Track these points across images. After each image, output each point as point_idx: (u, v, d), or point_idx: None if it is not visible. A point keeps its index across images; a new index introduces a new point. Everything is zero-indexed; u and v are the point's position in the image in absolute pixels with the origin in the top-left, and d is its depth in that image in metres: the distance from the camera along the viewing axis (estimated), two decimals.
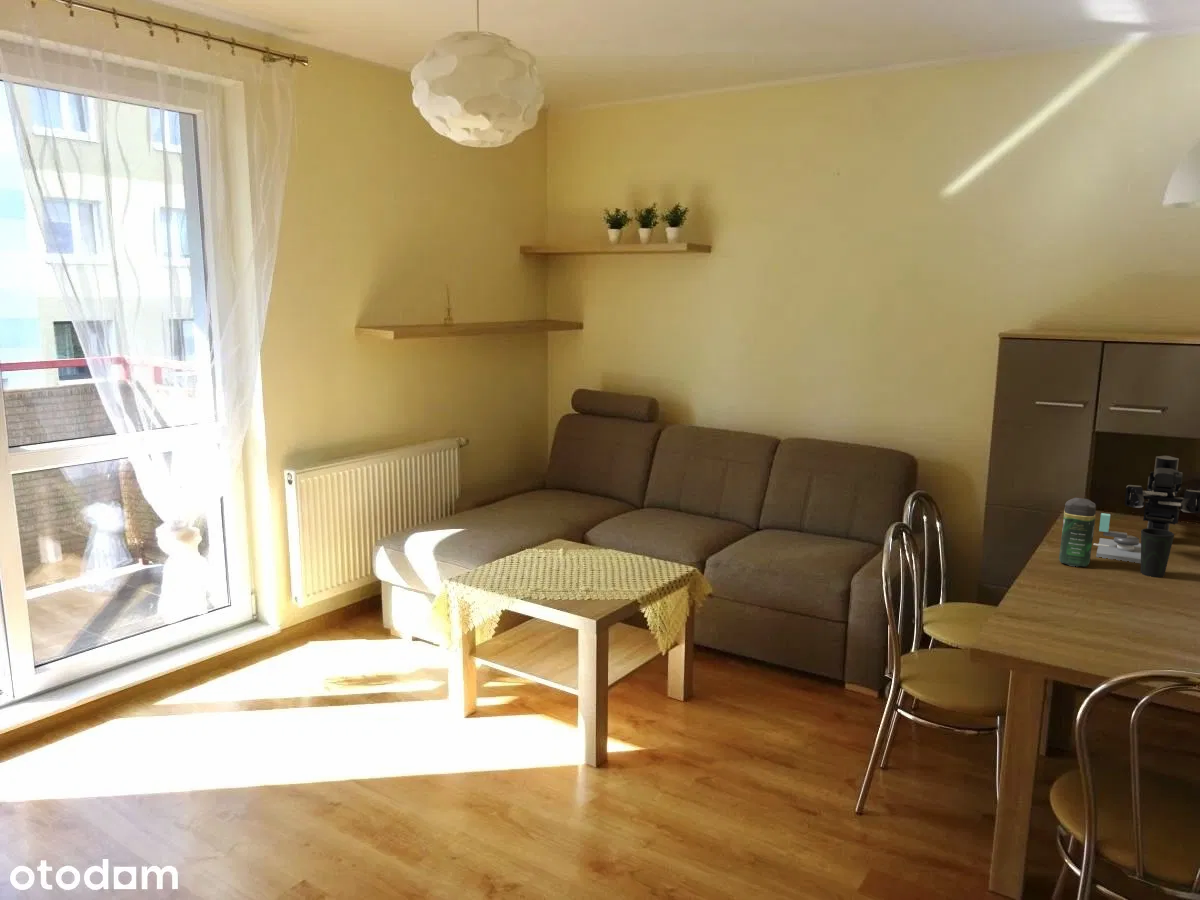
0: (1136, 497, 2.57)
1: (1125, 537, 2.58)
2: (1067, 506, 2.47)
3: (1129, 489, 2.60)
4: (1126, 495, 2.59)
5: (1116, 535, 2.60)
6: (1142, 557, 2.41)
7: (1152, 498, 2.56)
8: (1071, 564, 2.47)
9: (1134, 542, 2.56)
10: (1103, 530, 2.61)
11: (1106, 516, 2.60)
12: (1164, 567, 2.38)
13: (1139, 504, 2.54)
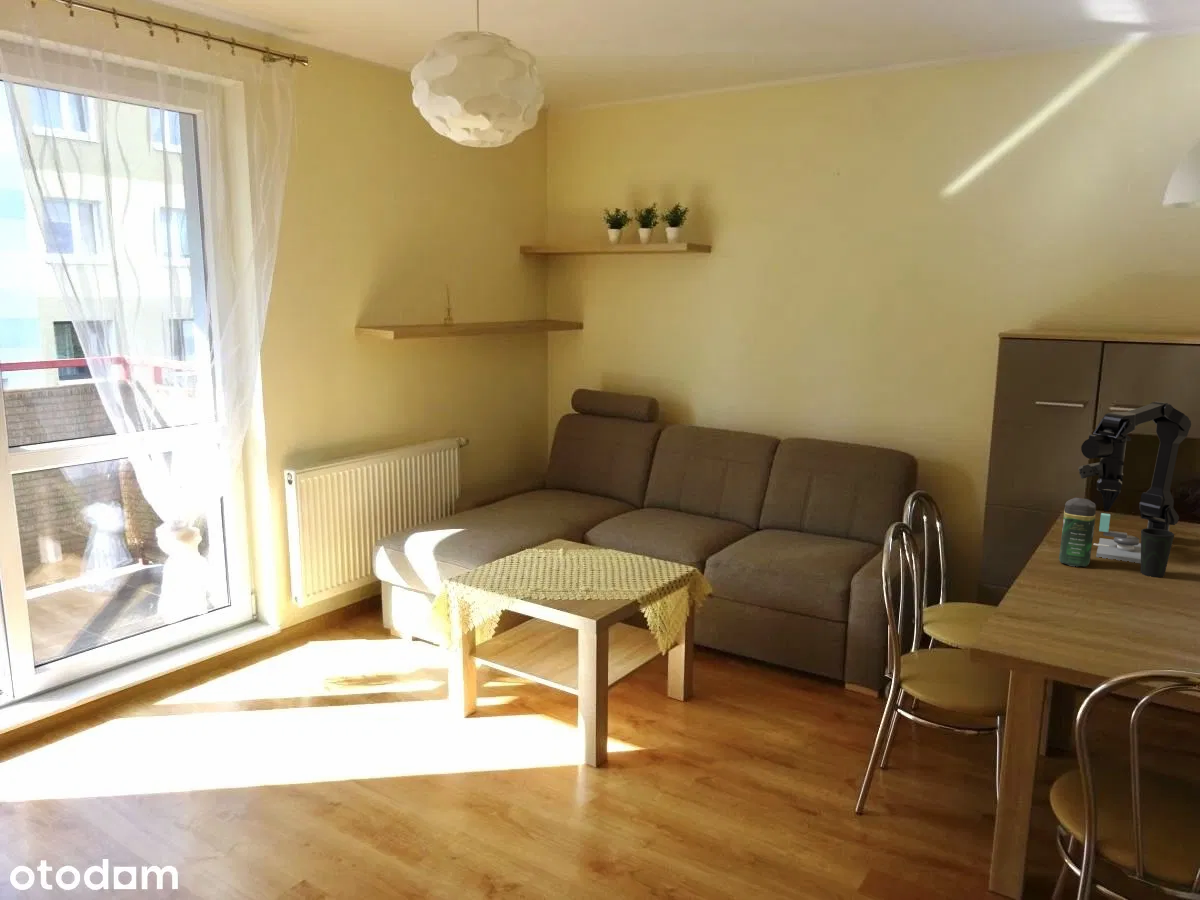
0: None
1: (1125, 537, 2.58)
2: (1067, 506, 2.47)
3: None
4: None
5: (1116, 535, 2.60)
6: (1142, 557, 2.41)
7: None
8: (1071, 564, 2.47)
9: (1134, 542, 2.56)
10: (1103, 530, 2.61)
11: (1106, 516, 2.60)
12: (1164, 567, 2.38)
13: None
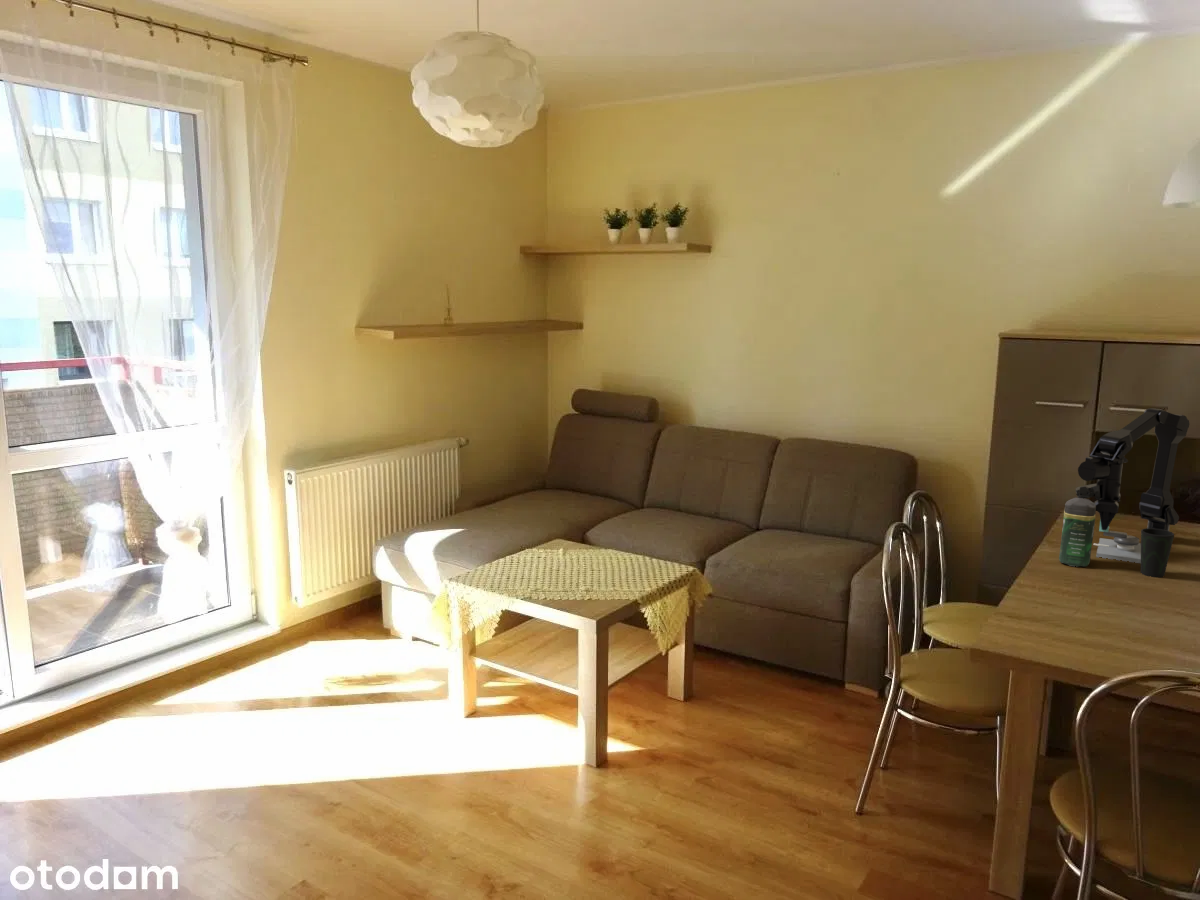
0: None
1: (1125, 537, 2.58)
2: (1067, 506, 2.47)
3: None
4: None
5: (1116, 535, 2.60)
6: (1142, 557, 2.41)
7: None
8: (1071, 564, 2.47)
9: (1134, 542, 2.56)
10: (1103, 530, 2.61)
11: None
12: (1164, 567, 2.38)
13: None
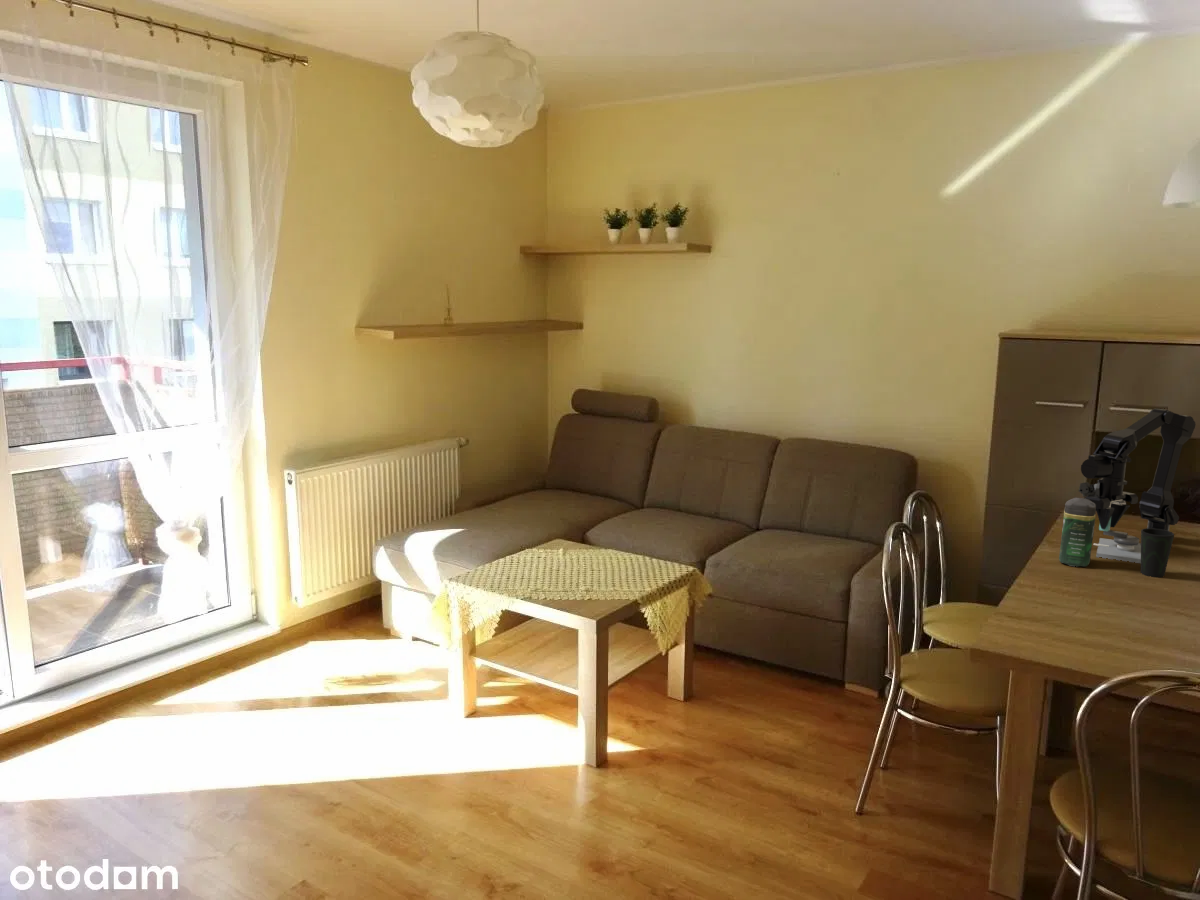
0: None
1: (1124, 537, 2.58)
2: (1067, 506, 2.47)
3: None
4: None
5: (1116, 535, 2.60)
6: (1142, 557, 2.41)
7: (1115, 501, 2.63)
8: (1071, 564, 2.47)
9: (1132, 542, 2.56)
10: (1103, 529, 2.62)
11: None
12: (1164, 567, 2.38)
13: None
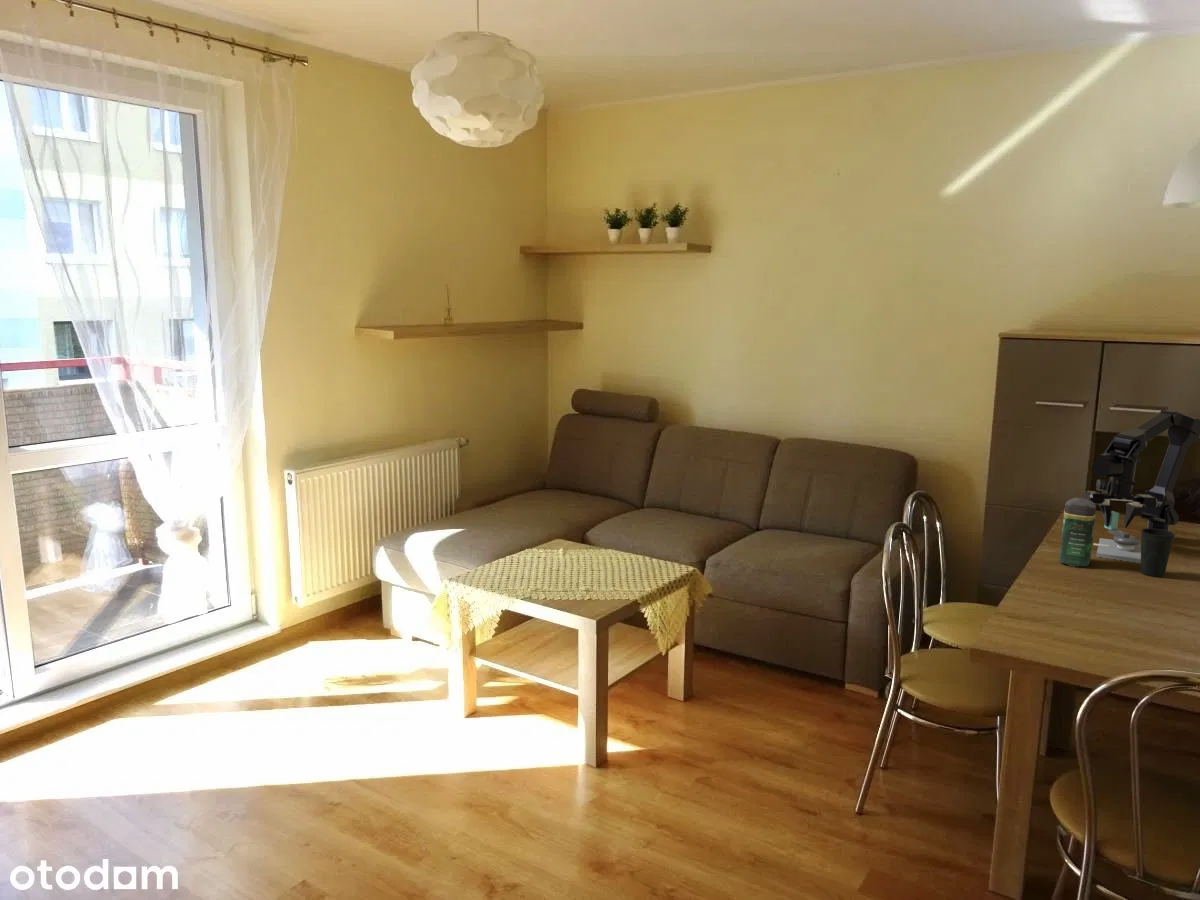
0: None
1: (1123, 536, 2.59)
2: (1067, 506, 2.47)
3: None
4: None
5: (1116, 533, 2.61)
6: (1142, 557, 2.41)
7: None
8: (1071, 564, 2.47)
9: (1125, 541, 2.57)
10: (1107, 527, 2.64)
11: None
12: (1164, 567, 2.38)
13: None
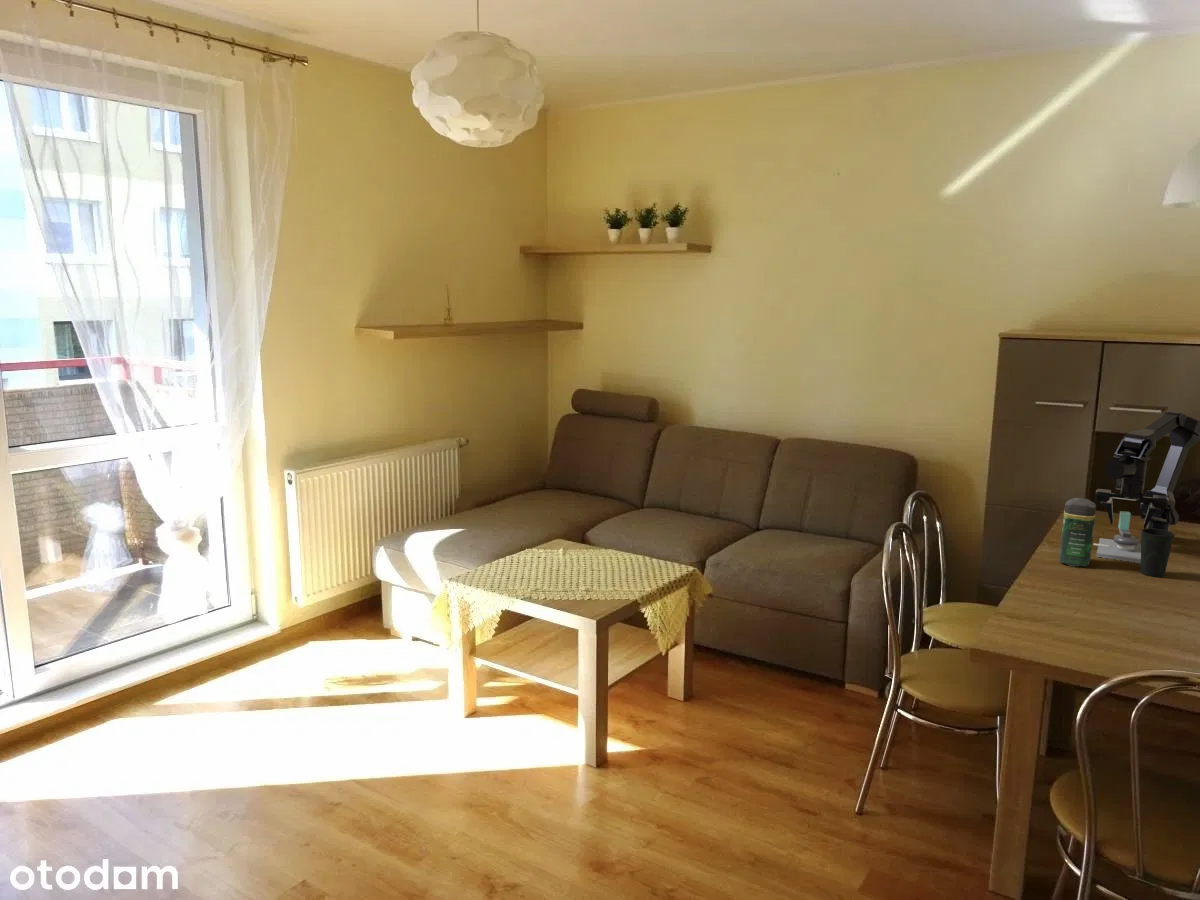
0: None
1: (1122, 536, 2.60)
2: (1067, 506, 2.47)
3: None
4: None
5: (1121, 533, 2.62)
6: (1142, 557, 2.41)
7: None
8: (1071, 564, 2.47)
9: (1118, 540, 2.58)
10: (1118, 526, 2.65)
11: (1120, 513, 2.64)
12: (1164, 567, 2.38)
13: (1148, 521, 2.60)
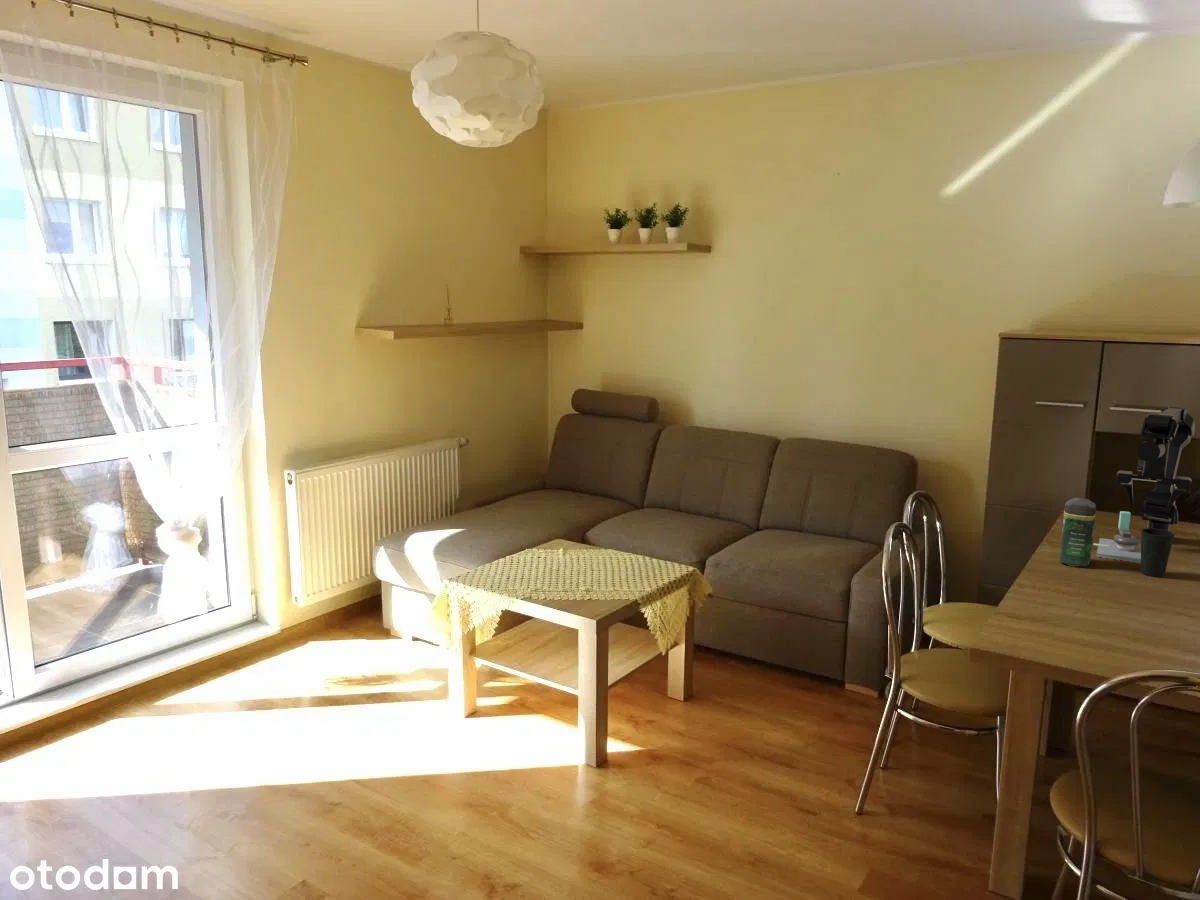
0: None
1: (1122, 536, 2.60)
2: (1067, 506, 2.47)
3: None
4: None
5: (1121, 533, 2.62)
6: (1142, 557, 2.41)
7: None
8: (1071, 564, 2.47)
9: (1118, 540, 2.58)
10: (1118, 526, 2.65)
11: (1121, 513, 2.64)
12: (1164, 567, 2.38)
13: (1173, 503, 2.56)
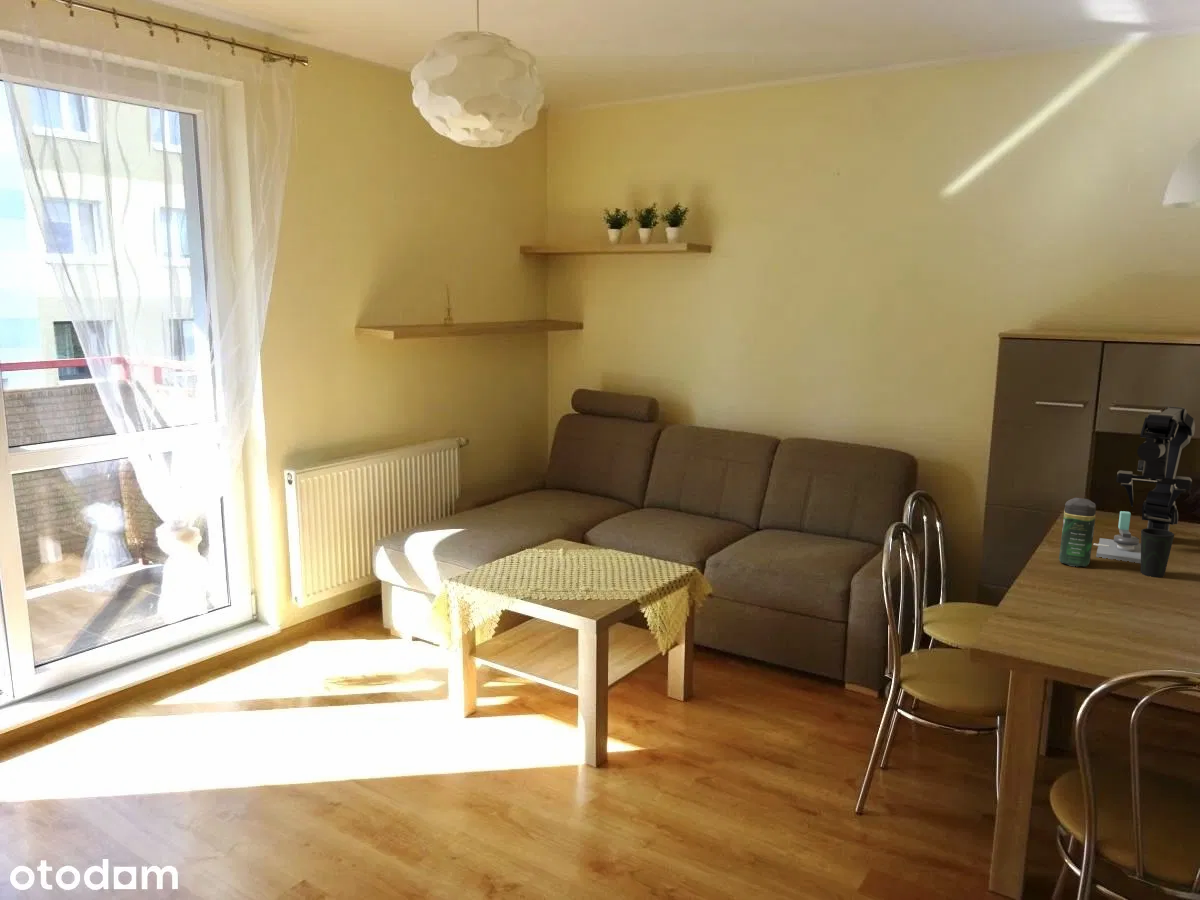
0: None
1: (1122, 536, 2.60)
2: (1067, 506, 2.47)
3: None
4: None
5: (1121, 533, 2.62)
6: (1142, 557, 2.41)
7: None
8: (1071, 564, 2.47)
9: (1118, 540, 2.58)
10: (1118, 526, 2.65)
11: (1121, 513, 2.64)
12: (1164, 567, 2.38)
13: (1173, 503, 2.56)
